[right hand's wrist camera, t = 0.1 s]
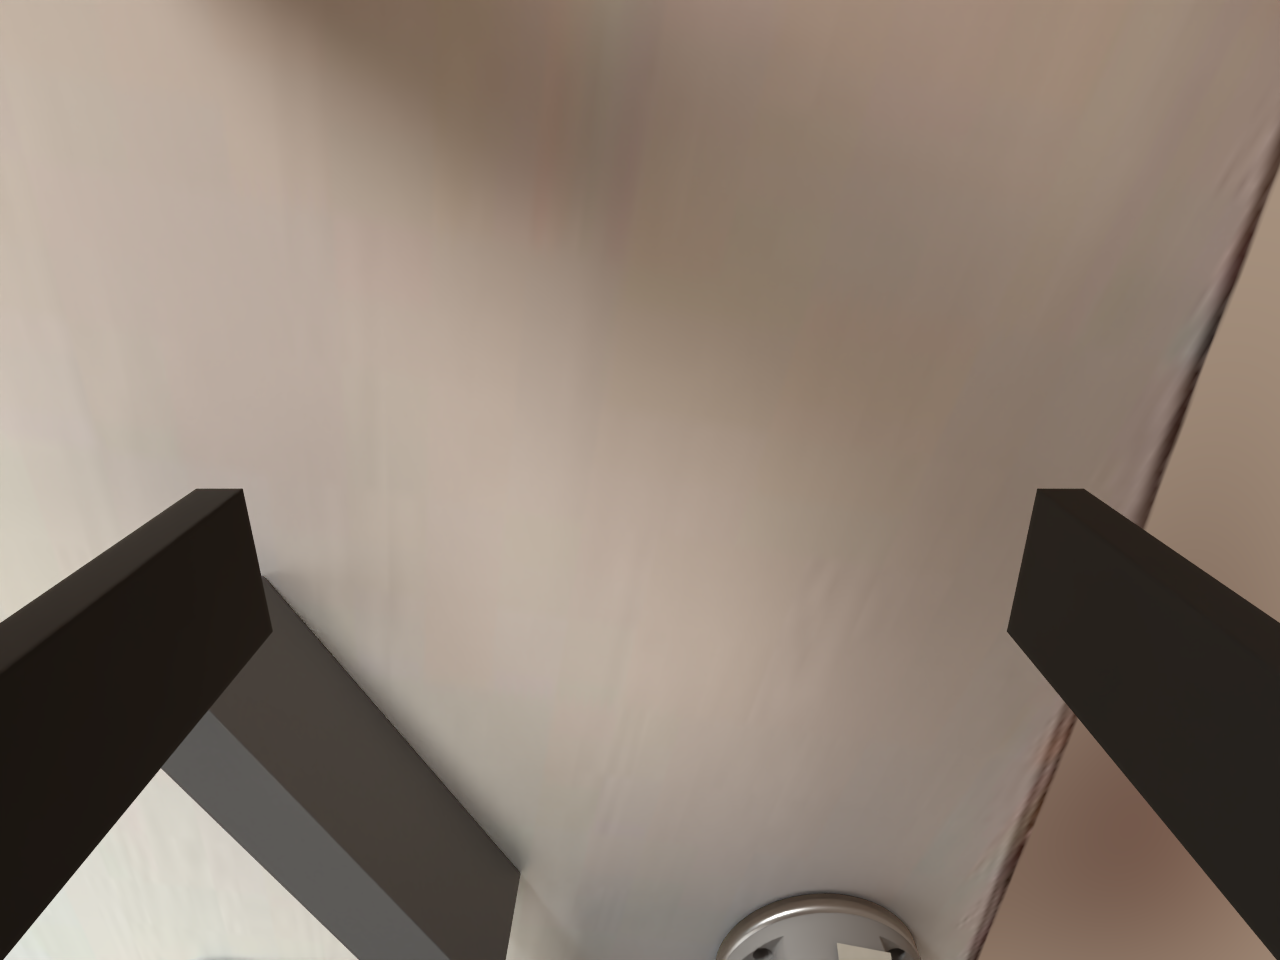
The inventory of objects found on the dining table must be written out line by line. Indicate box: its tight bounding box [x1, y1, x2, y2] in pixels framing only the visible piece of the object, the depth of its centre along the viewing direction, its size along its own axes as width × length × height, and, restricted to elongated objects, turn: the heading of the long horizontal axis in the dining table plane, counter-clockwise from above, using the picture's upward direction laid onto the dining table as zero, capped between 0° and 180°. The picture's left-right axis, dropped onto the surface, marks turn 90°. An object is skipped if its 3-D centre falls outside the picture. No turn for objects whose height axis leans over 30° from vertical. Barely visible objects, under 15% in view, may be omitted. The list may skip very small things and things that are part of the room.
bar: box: [161, 576, 520, 960], centre depth 45 cm, size 28×5×9 cm, turn 30°
